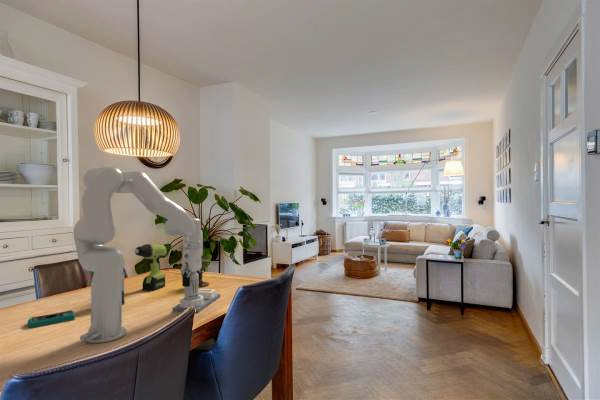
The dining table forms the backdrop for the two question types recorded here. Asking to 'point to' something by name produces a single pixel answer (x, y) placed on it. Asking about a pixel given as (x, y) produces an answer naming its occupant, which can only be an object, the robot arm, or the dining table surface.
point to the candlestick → (201, 283)
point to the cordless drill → (152, 265)
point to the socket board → (206, 302)
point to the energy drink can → (192, 287)
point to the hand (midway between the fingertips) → (191, 283)
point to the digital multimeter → (51, 319)
